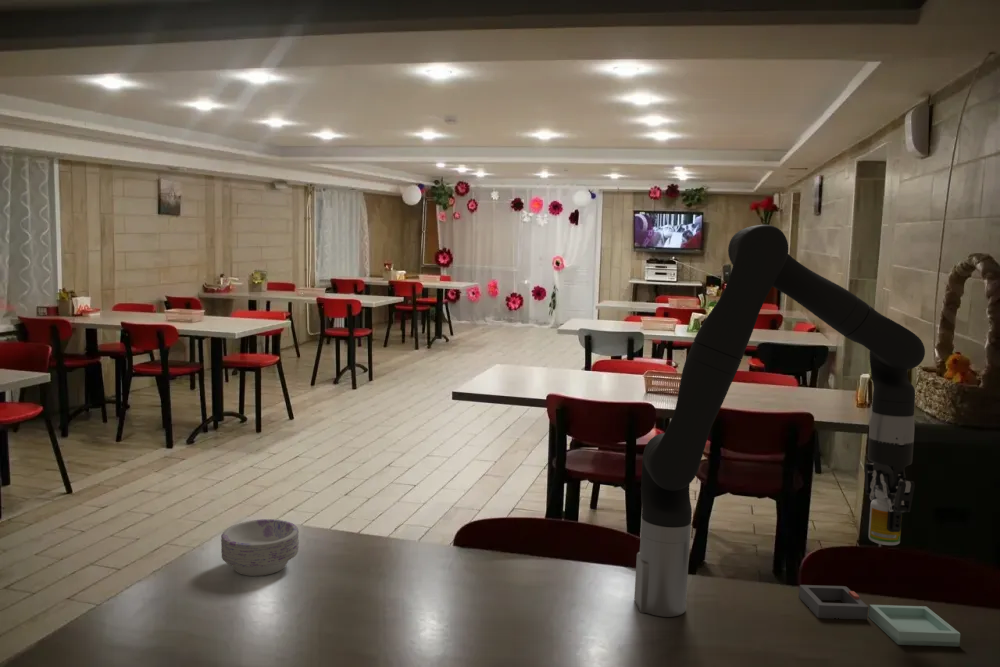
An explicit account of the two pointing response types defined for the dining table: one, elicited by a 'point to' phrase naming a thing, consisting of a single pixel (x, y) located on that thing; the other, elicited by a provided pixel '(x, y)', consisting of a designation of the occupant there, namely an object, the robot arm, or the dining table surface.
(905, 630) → the tray
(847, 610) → the socket collar
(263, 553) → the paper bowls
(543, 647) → the dining table surface
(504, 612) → the dining table surface
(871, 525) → the supplement bottle
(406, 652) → the dining table surface
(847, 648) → the dining table surface
